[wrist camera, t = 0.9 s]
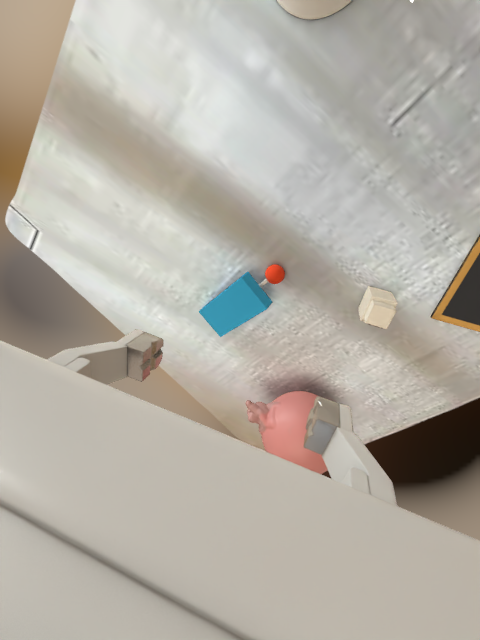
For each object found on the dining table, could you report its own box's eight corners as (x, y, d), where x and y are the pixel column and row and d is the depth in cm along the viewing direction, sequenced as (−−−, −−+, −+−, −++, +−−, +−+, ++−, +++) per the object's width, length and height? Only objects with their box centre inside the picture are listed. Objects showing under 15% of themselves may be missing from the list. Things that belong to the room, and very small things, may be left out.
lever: (237, 319, 61) (297, 280, 48) (220, 336, 56) (282, 299, 43) (217, 295, 60) (273, 250, 47) (198, 311, 55) (255, 265, 42)
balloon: (280, 349, 56) (263, 398, 42) (358, 407, 56) (366, 474, 42) (241, 391, 63) (216, 443, 50) (310, 442, 63) (303, 508, 50)
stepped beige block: (368, 285, 45) (373, 299, 39) (391, 292, 45) (400, 307, 39) (357, 308, 48) (361, 325, 42) (380, 315, 47) (387, 333, 41)
